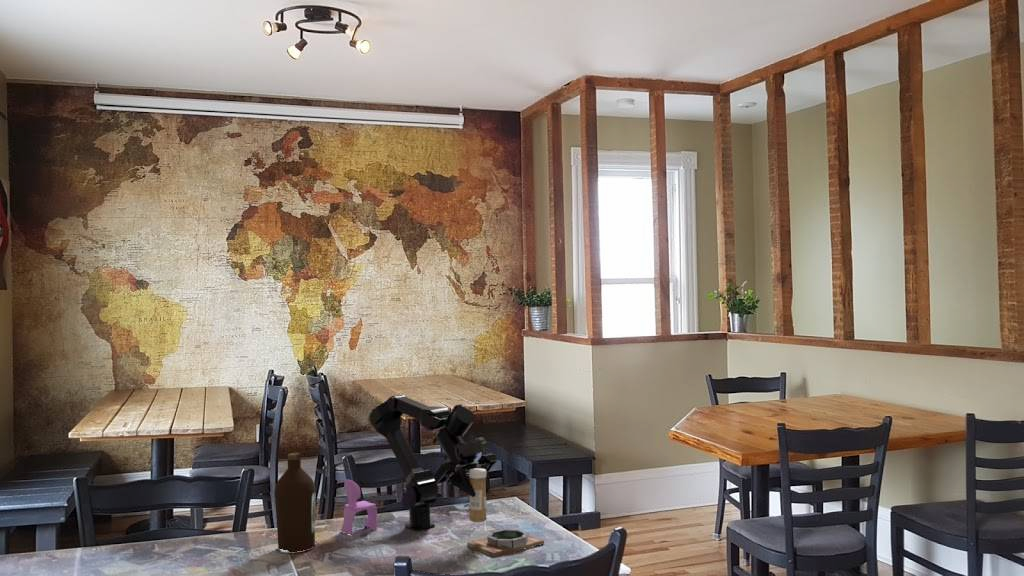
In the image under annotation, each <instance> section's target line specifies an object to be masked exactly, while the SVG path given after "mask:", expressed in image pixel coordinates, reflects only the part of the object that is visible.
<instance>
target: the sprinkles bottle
mask: <svg viewBox="0 0 1024 576" xmlns="http://www.w3.org/2000/svg"><path fill="white" fill-rule="evenodd" d="M468 477H469V482H470V484H471V486H472V487H473V489H474V491H475V494H476V495H475V497H472V496H470V495H469V521H470V522H473V523H484V522H485V521H487V518H488V517H487V494H486V477H487V473H486V470H485V469H482V468H474V469H470V470H469V471H468Z"/></svg>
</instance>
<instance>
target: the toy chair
mask: <svg viewBox="0 0 1024 576" xmlns="http://www.w3.org/2000/svg"><path fill="white" fill-rule="evenodd" d="M343 486H344V490H345V491H346V497H347V502H348V503H346V504H344V508H343V522H342V525H341V529H340V531H342V532H345V533H347V534H350V535H352V536H353V524H354V519H355V516H356V514H357V513H359V512H362V511H364V510H366V512H367V519H366V521H365V524H364V527H365V526H367V527H366V528H368V527H370V528H372V529H371V530H373V529H375V530H374V531H378V519H377V518H378V508H377V507H376V506H377V504H376V503H371V502H369V501H367V500H361V501H358V499H360V498H361V495H362V494H361V488H360V485H358V483H357V482H355V481H354V480H352V479H349V478H347V479H345V481H344V485H343ZM370 528H369V529H370Z"/></svg>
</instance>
